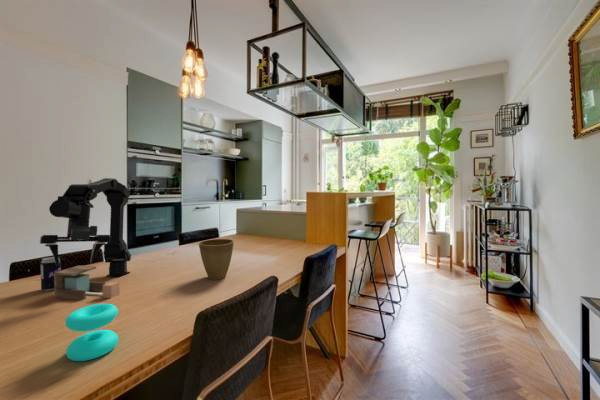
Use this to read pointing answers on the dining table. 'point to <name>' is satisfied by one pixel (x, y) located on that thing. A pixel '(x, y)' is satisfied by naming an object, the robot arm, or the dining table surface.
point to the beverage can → (48, 273)
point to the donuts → (93, 341)
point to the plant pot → (216, 257)
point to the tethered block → (83, 284)
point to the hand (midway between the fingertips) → (74, 264)
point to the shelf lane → (72, 293)
